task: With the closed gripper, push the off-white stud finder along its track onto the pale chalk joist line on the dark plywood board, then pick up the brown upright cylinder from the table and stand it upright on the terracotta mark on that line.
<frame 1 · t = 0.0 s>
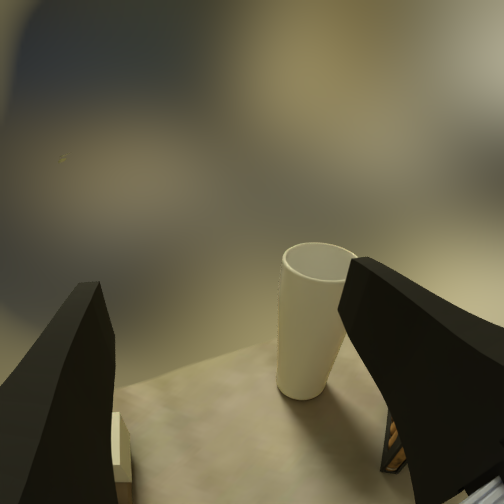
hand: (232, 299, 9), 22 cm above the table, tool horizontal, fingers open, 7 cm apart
ammunition clip: (393, 429, 26), on the table
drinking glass: (299, 384, 33), on the table
stud finder: (96, 447, 20), point 4 cm above the table, slide at -4.5 cm
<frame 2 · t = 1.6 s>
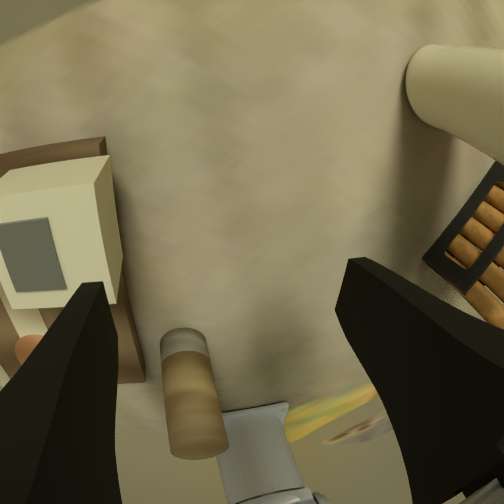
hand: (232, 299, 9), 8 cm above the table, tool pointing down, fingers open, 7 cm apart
brown upright cylinder: (183, 344, 21), on the table
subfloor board: (39, 284, 16), on the table
ammunition clip: (464, 212, 22), on the table
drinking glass: (430, 83, 16), on the table
stud finder: (54, 233, 11), point 4 cm above the table, slide at -4.5 cm
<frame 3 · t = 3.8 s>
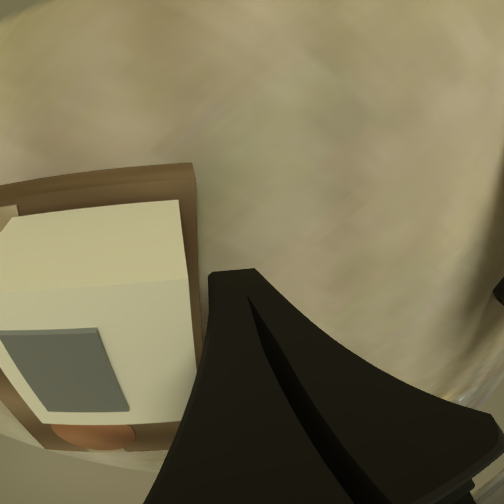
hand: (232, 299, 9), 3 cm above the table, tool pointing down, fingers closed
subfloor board: (81, 351, 13), on the table
stud finder: (96, 324, 8), point 4 cm above the table, slide at -3.5 cm, touching gripper
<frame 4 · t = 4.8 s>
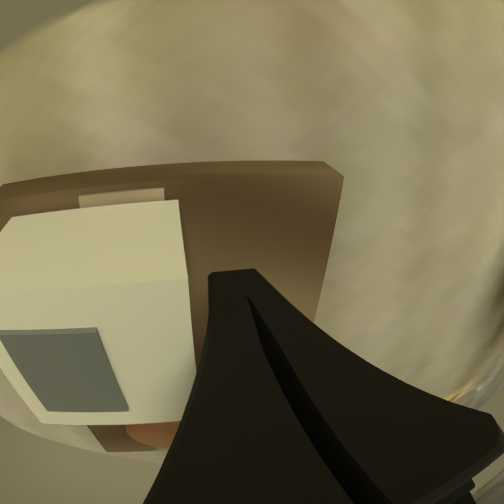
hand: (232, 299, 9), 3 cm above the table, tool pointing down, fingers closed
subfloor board: (175, 345, 14), on the table
stud finder: (96, 324, 8), point 4 cm above the table, slide at 0.9 cm, touching gripper
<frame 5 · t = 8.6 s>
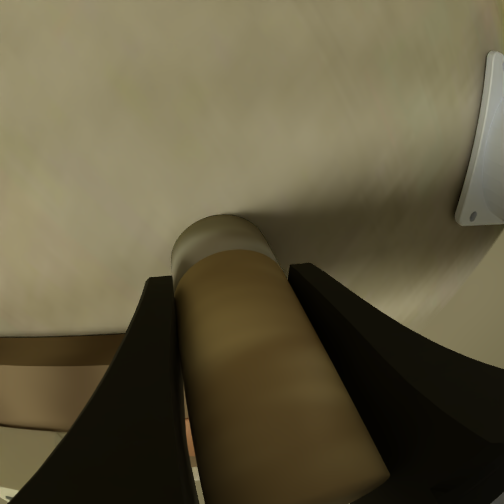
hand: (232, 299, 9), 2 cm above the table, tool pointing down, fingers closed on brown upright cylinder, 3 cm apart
brown upright cylinder: (220, 259, 11), on the table, touching gripper
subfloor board: (105, 409, 14), on the table
stud finder: (34, 477, 11), point 4 cm above the table, slide at 1.0 cm
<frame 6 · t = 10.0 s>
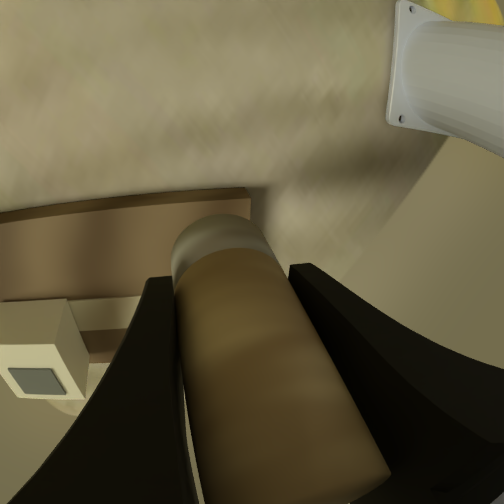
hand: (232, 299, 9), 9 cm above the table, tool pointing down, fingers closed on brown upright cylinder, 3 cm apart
brown upright cylinder: (219, 258, 11), point 7 cm above the table, touching gripper
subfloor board: (111, 284, 18), on the table
stud finder: (38, 352, 15), point 4 cm above the table, slide at 1.0 cm
when the fingers open (5 cm above the table, at t = 11.5 s): brown upright cylinder drops 1 cm, resting on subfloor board.
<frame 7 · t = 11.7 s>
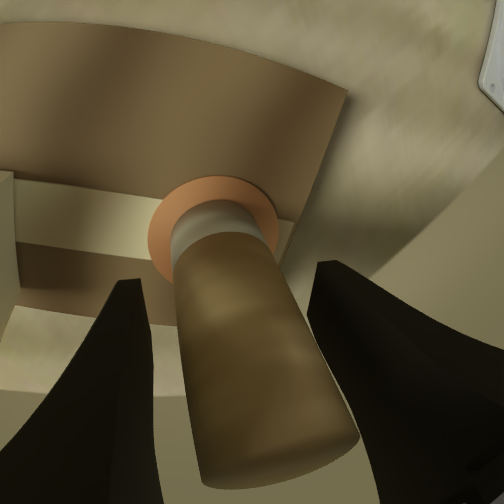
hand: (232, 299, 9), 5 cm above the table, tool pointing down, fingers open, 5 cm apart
brown upright cylinder: (215, 240, 12), point 2 cm above the table, touching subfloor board
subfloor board: (88, 177, 11), on the table
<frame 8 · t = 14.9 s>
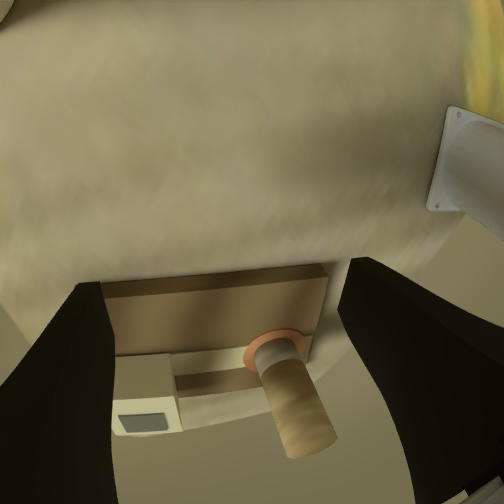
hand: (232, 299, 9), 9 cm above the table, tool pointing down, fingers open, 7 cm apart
brown upright cylinder: (274, 352, 23), point 2 cm above the table, touching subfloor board
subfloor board: (203, 336, 23), on the table
stud finder: (140, 398, 20), point 4 cm above the table, slide at 1.0 cm
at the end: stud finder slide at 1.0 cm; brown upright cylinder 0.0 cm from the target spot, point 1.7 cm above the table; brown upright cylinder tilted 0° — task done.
